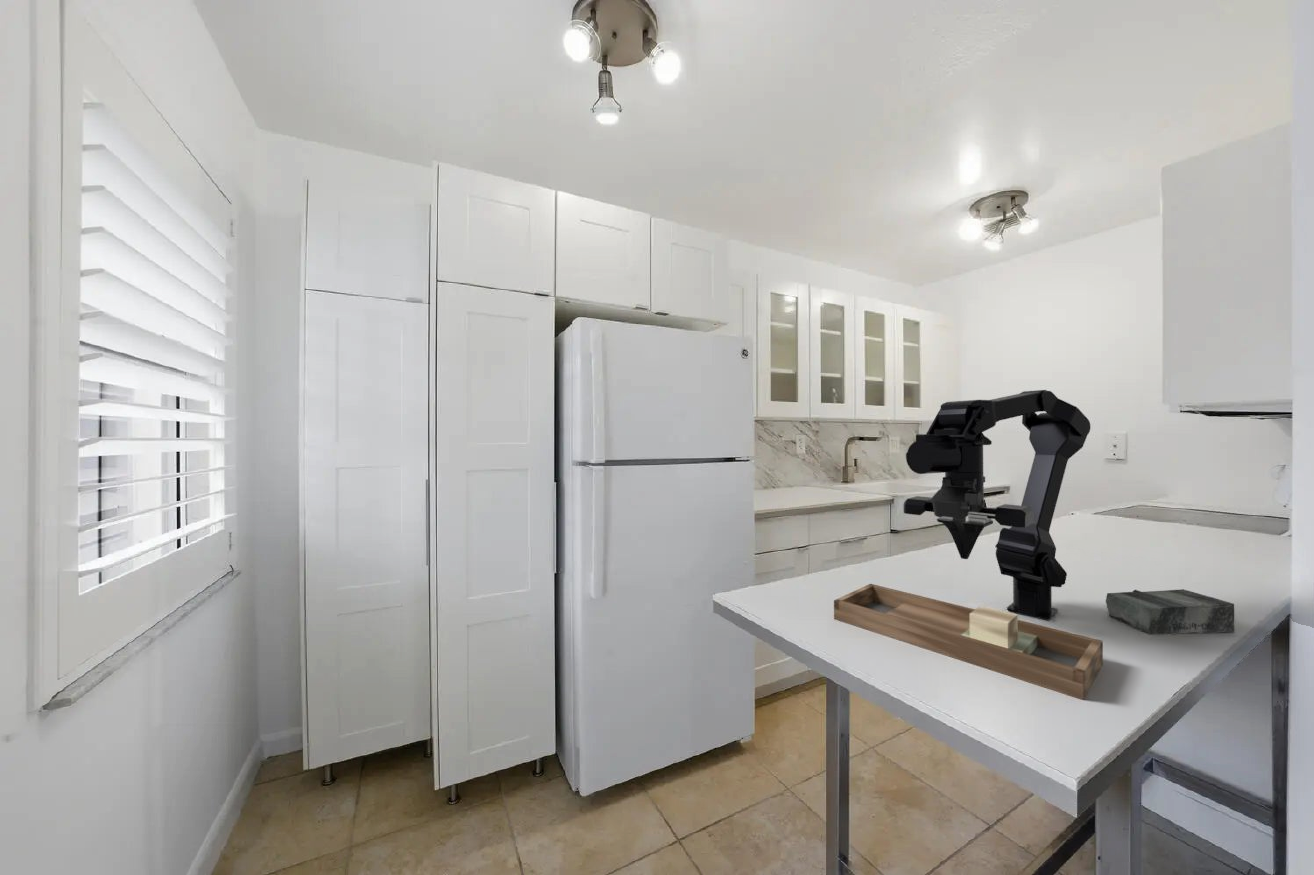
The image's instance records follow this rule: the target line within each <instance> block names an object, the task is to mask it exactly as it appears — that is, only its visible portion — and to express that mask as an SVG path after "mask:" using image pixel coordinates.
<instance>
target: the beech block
mask: <svg viewBox="0 0 1314 875" xmlns="http://www.w3.org/2000/svg"><path fill="white" fill-rule="evenodd" d="M974 609H975V610H974V611H973V612H971V613H970V638H973V639H977V640H980V641H984V642H987V643H991V644H994V645H998V646H1001V647H1005V648H1008V649H1009V648H1010V647H1011V646H1012V645H1013V644H1014V643H1015V642H1016V641H1017V640H1018V620H1019V616H1018V615H1019V614H1018V613H1014V612H1013V613H1012V612H1010V611H1004V610H1000V609H997V608H992V607H988V606H985V605H984V606H982V605H979V606H978V607H976V608H974Z"/></svg>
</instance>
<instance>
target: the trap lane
mask: <svg viewBox="0 0 1314 875" xmlns="http://www.w3.org/2000/svg"><path fill="white" fill-rule="evenodd" d="M975 609H976V608H971V607H967V606H963V605H959V604H955V603H951V602H947V601H942V600H939V599H934V598H931V597H928V596H923V595H918V594H914V593H910V592H907V591H906V592H905V591H902V590H898V589H893V588H890V587H887V586H880V585H878V584H877V585H876V584H873V583H869V584H866V585H864V586H862V587H860V588H858V589H855V590H854V591H852V592H849V593H847V594H845V595H842V596H841V597H839V598H836V599H834V600H833V620H836V621H838V622H842V623H845V624H847V625H851V626H855V627H858V628H861V629H864V630H867V631H870V632H873V633H876V634H879V635H882V636H885V637H889V638H892V639H895V640H898V641H901V642H903V643H907V644H910V645H912V646H913V645H914V646H917V647H919V648H923V649H926V650H929V651H931V652H934V653H937V654H940V655H944V656H947V657H950V658H953V659H956V660H960V661H963V662H966V663H969V664H971V665H975V666H978V667H981V668H984V669H987V670H991V671H993V672H996V673H1000V674H1002V675H1005V676H1008V677H1012V678H1014V679H1018V680H1021V681H1024V682H1028V683H1030V684H1033V685H1036V686H1040V687H1043V688H1046V689H1049V690H1051V691H1055V692H1058V693H1060V694H1064V695H1066V696H1070V697H1074V698H1076V699H1079V700H1085V697H1086V696H1087V694H1088V692H1089V690H1090V688H1091V686H1093V683H1094V681H1095V680H1096V677H1097V675H1098V673H1099V672H1100V670H1101V668H1102V667H1103V663H1104V662H1103V659H1104V658H1103V656H1104V653H1103V652H1104V651H1103V648H1104V645H1103V643H1104V642H1103V641H1104V640H1101V639H1097V638H1095V637H1089V636H1085V635H1081V634H1077V633H1074V632H1073V633H1072V632H1069V631H1064V630H1062V629H1056V628H1054V627H1053V628H1052V627H1050V626H1045V625H1040V624H1036V623H1032V622H1028V621H1023V620H1020V619H1018V640H1017V641H1016V642H1015V643H1014V644H1013V645H1012V646H1011V647H1010V648H1009V649H1008V648H1005V647H1001V646H998V645H994V644H991V643H987V642H984V641H980V640H977V639H973V638H970V613H971V612H973V611H974V610H975Z"/></svg>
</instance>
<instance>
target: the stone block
mask: <svg viewBox="0 0 1314 875" xmlns="http://www.w3.org/2000/svg"><path fill="white" fill-rule="evenodd" d="M1105 604H1106V608H1107V612H1108V616H1109V617H1111V618H1112V619H1115V620H1117V621H1119V622H1121V623H1124V624H1126V625H1128V626H1130V627H1131V628H1133V629H1135V630H1138V631H1140V632H1142V633H1145V634H1147V635H1178V634H1186V633H1187V634H1188V633H1199V634H1218V633H1225V634H1226V633H1227V634H1234V633H1235V628H1236V627H1235V603H1232V602H1229V601H1226V600H1222V599H1219V598H1216V597H1213V596H1212V597H1211V596H1208V595H1206V594H1202V593H1198V592H1194V591H1191V590H1187V589H1184V588H1183V589H1168V590H1167V589H1166V590H1165V589H1164V590H1152V591H1151V590H1150V591H1140V590H1137V589H1133V590H1132V591H1124V592H1122V591H1121V592H1120V591H1119V592H1108V593H1106V599H1105Z"/></svg>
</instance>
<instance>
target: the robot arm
mask: <svg viewBox="0 0 1314 875" xmlns="http://www.w3.org/2000/svg"><path fill="white" fill-rule="evenodd" d="M1037 412H1038V413H1039V412H1041V413H1039V414H1037ZM1020 416H1022V417H1021V418H1022V420H1021V423H1022V425H1023V426H1024V427H1025V429H1027V430H1028V431H1029V438H1028V440H1029V442H1030V444H1031V446H1032V449H1033V451H1034V457H1033V462H1032V465H1031V469H1030V472H1029V475H1028V479H1027V483H1026V487H1025V490H1024V494H1023V498H1022V501H1021V505H1020V504H1019V505H1015V504H1006V503H1005V504H1002V505H999V506H996V507H988V506H987V507H986V499H984V496H985V495H984V490H985V489H984V483H985V482H986V476H984V446H990V445H992V443H993V442H992V440H991V439H990V438H988V437H987V436H985V435H984V433H983V432H986V431H988V430H990V429H991V428H992V429H993V427H995V426H997V425H996V424H997V423H998V422H1000V421H1005V420H1008V419H1012V418H1017V417H1020ZM1090 431H1091V422H1090V420H1089V419H1088V417H1087V416H1086V415H1085V414H1084V413H1083V412H1082V411H1081V410H1080V408H1078V407H1077V406H1075V405H1073V404H1071V403H1069V402H1067V401H1065V400H1063V399H1061V398H1059V397H1057V396H1056V395H1055V393H1054V392H1052V391H1051V390H1047V389H1039V390H1038V389H1037V390H1026V391H1025V390H1024V391H1021V392H1020V393H1016V394H1012V395H1006V396H1003V397H998V398H997V397H996V398H992V399H972V400H956V401H955V400H954V401H953V400H952V401H946V402H943V403H942V404H941V405H940V409H939V411H938V412H937V413H936V415H935V417H934V419H933V421H932V423H931V425H930V426H929V428H928V430H927V432H926V433H925V434H923V433H921V434H920V433H919V434H915V441H914V442H912V443H911V444H910V445H909V447H908V448H907V452H906V453H905V460H906V463H907V466H908V467H909V469H910V470H911V471H912V472H914V473H915V474H919V475H926V474H927V475H928V474H943V473H944V476H943V477H942V481H941V487H940V489H938V490H937V491H936V492H935V493H934V495H933V496H932V497H928V496H919V495H917V496H913V497H909V498H906V500H904V502H903V514H906V515H913V516H921V515H923V514H924V513H925V512H930V513H931V512H932V513H933V515H934V517H937V518H936V521H937V523H940V524H943V525H944V527H946V528H947V530H948V531H949V534H950V535H951V538H952V539H953V542H954V544H955V547H956V549H957V552H958V554H959V557H960V559H961V560H968V559H969V558H970V556H971V553H972V552H973V549H974V547H975V545H976V543H977V540H978V538H979V536H980V535H981V533H982V531H983V530H984V528H986V527H988V526H990V525H993V523H994V520H995V521H996V522H997V523H998V524H999V525H1000V526H1004V527H1002V529H1001V530H1000V531H999V536H998V540H997V542H996V544H995V548H996V550H995V558H996V561H997V565H998V567H999V572H1000V574H1001V575H1003V576H1009V577H1012V588H1013V589H1012V593H1013V595H1012V597H1013V598H1012V600H1013V601H1012V602H1011V603H1010V604H1009V605H1008V606H1007V607H1006V610H1007V612H1011V613H1012V612H1013V613H1015V614H1021V615H1025V616H1029V617H1033V618H1036V619H1037V618H1038V619H1042V620H1046V621H1051V619H1052V618H1054V616H1055V615H1056V614H1057V613H1058V610H1059V609H1058V608H1054V607H1052V606H1053V605H1052V602H1053V601H1052V597H1053V595H1052V594H1053V592H1052V588H1062V587H1063V586H1064V585H1065V584H1066V581H1067V576H1068V573H1067V571H1066V570H1065V569H1064V567H1063V566H1062V565H1061V564H1060V562H1058V560H1057V558H1056V553H1057V552H1056V551H1057V546H1056V545H1055V543H1054V540H1053V538H1052V536H1051V534H1050V529H1051V526H1052V521H1053V517H1054V513H1055V510H1056V508H1057V503H1058V498H1059V495H1060V490H1061V487H1062V484H1063V479H1064V476H1065V472H1066V469H1067V464H1068V461H1069V459H1071V457H1073V456H1074V455H1075V454H1076V453H1078V452H1079V451H1080V450H1081V449H1083V448H1084V444H1085V443H1086V440H1087V437H1088V435H1089V433H1090ZM966 519H968V520H966ZM1008 527H1009V528H1008Z"/></svg>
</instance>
